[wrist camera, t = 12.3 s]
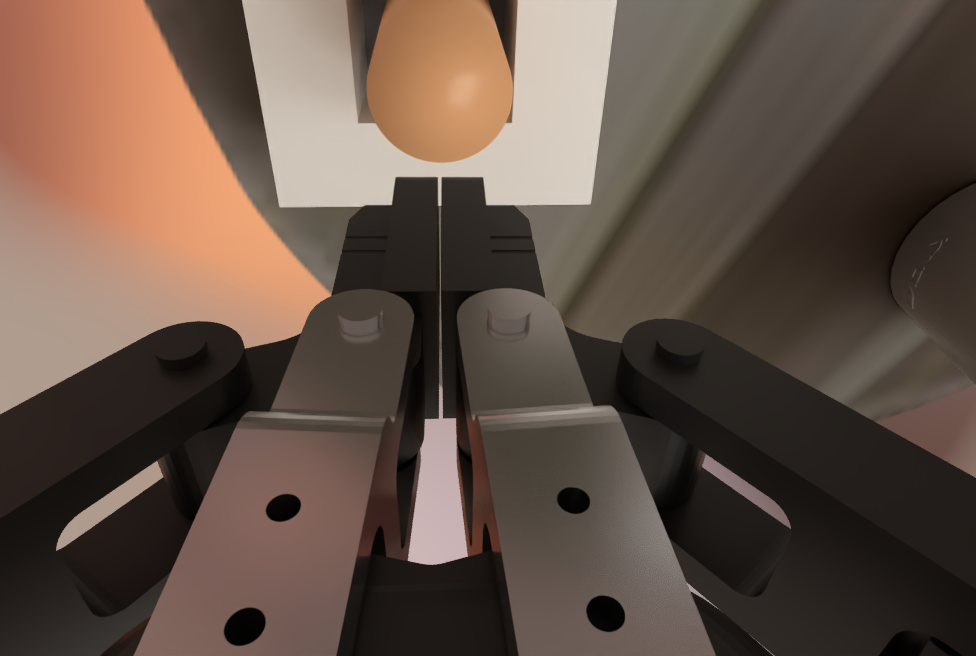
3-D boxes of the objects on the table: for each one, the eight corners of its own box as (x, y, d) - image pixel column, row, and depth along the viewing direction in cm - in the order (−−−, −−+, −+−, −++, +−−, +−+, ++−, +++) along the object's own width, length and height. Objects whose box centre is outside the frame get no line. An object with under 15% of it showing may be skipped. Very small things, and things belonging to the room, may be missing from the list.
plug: (488, -49, 25) (514, 13, 17) (489, 62, 28) (511, 160, 20) (381, -47, 25) (357, 16, 17) (391, 64, 27) (374, 164, 19)
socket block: (598, -180, 24) (640, -180, 19) (566, 145, 31) (590, 204, 26) (253, -190, 23) (206, -193, 18) (303, 146, 30) (279, 207, 25)
